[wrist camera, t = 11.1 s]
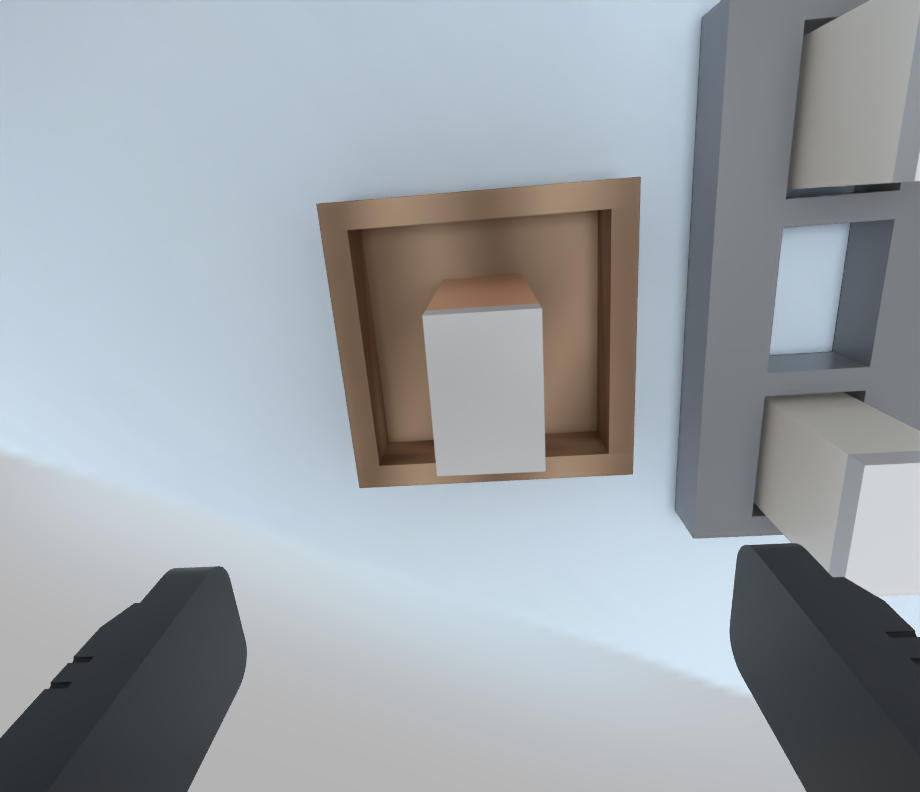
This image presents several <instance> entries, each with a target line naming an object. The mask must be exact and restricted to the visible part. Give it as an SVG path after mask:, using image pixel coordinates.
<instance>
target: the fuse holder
mask: <svg viewBox="0 0 920 792" xmlns="http://www.w3.org/2000/svg"><path fill="white" fill-rule="evenodd" d="M868 1H869V0H721V1H720V2H719V3H718V4H717V5H716V6H715V7H713V8H712V9H711V10H710V11H709V12H708V13H707V14H705V15H704V16H703V17H702V27H701V46H700V64H699V82H698V100H697V118H696V137H695V155H694V173H693V191H692V209H691V227H690V246H689V264H688V282H687V300H686V318H685V337H684V355H683V373H682V391H681V409H680V428H679V446H678V464H677V482H676V500H675V511H676V512H677V514H678V515H679V517H680V519H681V520H682V522H683V523H684V525H685V526H686V528H687V529H688V531H689V533H690V534H691V536H692V537H693V538H716V537H739V536H762V535H783V534H782V532H781V531H780V530H779V529H778V528H777V527H776V526H775V525H774V524H773V523H772V522H771V521H770V519H769V518H768V517H767V516H766V515H765V514H764V513H763V512H762V511H761V510H760V509H759V508H758V506H757V505H756V504H755V503H754V493H755V484H756V475H757V465H758V456H759V446H760V437H761V428H762V418H763V409H764V399H765V396H780V395H797V394H814V393H832V392H844V393H846V394H848V395H850V396H852V397H854V398H856V399H858V400H860V401H862V402H864V403H866V404H868V405H870V406H872V407H874V408H876V409H878V410H879V411H881V412H883V413H885V414H887V415H889V416H891V417H893V418H895V419H897V420H899V421H901V422H903V423H905V424H907V425H909V426H911V427H913V428H915V429H917V430H919V431H920V181H913V182H897V183H881V184H866V185H856V192H853V193H840V194H828V195H815V196H803V197H790V198H786V193H787V184H788V174H789V165H790V155H791V146H792V137H793V127H794V118H795V108H796V99H797V90H798V80H799V71H800V62H801V52H802V43H803V36H805V35H806V34H808V33H810V32H812V31H814V30H816V29H818V28H819V27H821V26H823V25H825V24H827V23H829V22H830V21H832V20H834V19H836V18H838V17H840V16H842V15H843V14H845V13H847V12H849V11H851V10H853V9H855V8H856V7H858V6H860V5H862V4H864V3H866V2H868ZM838 223H851V226H850V233H849V240H848V247H847V254H846V261H845V268H844V275H843V282H842V289H841V296H840V303H839V310H838V316H837V323H836V330H835V337H834V344H833V351H832V352H818V353H802V354H786V355H770V356H769V353H770V343H771V334H772V324H773V315H774V306H775V296H776V287H777V277H778V268H779V259H780V249H781V240H782V230H783V228H785V227H798V226H811V225H825V224H838Z"/></svg>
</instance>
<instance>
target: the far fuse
mask: <svg viewBox="0 0 920 792" xmlns="http://www.w3.org/2000/svg"><path fill="white" fill-rule="evenodd" d="M754 503H755V504H756V505H757V506H758V508H759V509H760V510H761V511H762V512H763V513H764V514H765V515H766V516H767V517H768V518H769V519H770V521H771V522H772V523H773V524H774V525H775V526H776V527H777V528H778V529H779V530H780V531H781V532H782V534H783V535H784V536H785V537H786V538H787V539H788V540H789V541H790V542H791V543H797V544H800V545H801V546H803V547H804V548H805V549H806V550H807V551H808V552H809V553H810V554H811V555H812V556H813V557H814V558H815V559H816V560H817V561H818V562H819V563H820V564H821V565H822V566H823V567H824V568H825V570H826V571H827V572H828V573H829V574H830V575H831V576H832V577H845V578H847V579H848V580H850V581H852V582H853V583H855V584H857V585H859V586H860V587H862V588H864V589H865V590H867V591H869V592H870V593H872V594H874V595H875V596H898V595H920V431H919V430H917V429H915V428H913V427H911V426H909V425H907V424H905V423H903V422H901V421H899V420H897V419H895V418H893V417H891V416H889V415H887V414H885V413H883V412H881V411H879V410H878V409H876V408H874V407H872V406H870V405H868V404H866V403H864V402H862V401H860V400H858V399H856V398H854V397H852V396H850V395H848V394H846V393H844V392H832V393H814V394H797V395H780V396H765V399H764V409H763V418H762V428H761V437H760V446H759V456H758V465H757V475H756V484H755V493H754Z"/></svg>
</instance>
